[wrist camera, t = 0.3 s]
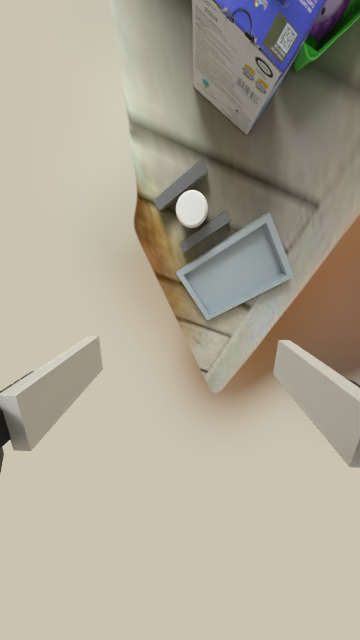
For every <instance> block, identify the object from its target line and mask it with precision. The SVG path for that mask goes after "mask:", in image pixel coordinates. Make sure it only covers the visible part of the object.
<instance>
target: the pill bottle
mask: <svg viewBox="0 0 360 640" xmlns="http://www.w3.org/2000/svg"><path fill="white" fill-rule="evenodd" d="M207 213H208V204H207V200H206V198H205V197H204V195H203V194H202V193H200V192H199V191H196V190H189V191H186V192H184V193H183V194H182V195H181V196H180V197H179V199H178V201H177V204H176V215H177V218H178V220H179V221H180V223H181V224H182V225H184V226H186V227H188V228H194V227H197V226H199V225H201V224H202V223H203V222H204V220H205V219H206V216H207Z"/></svg>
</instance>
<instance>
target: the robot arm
mask: <svg viewBox="0 0 360 640" xmlns="http://www.w3.org/2000/svg"><path fill="white" fill-rule="evenodd" d="M102 369H103V368H102V360H101V351H100V343H99V336H88V337H86V338H85V339H84V340H82V341H80V342H79V343H77V344H75V345H74V346H72V347H71V348H69V349H68V350H66V351H65V352H63V353H62V354H60V355H58V356H57V357H55V358H54V359H52V360H51V361H49V362H48V363H46V364H45V365H43V366H41V367H40V368H38V369H37V370H35V371H32V372H30V373H29V374H27V375H25V376H24V377H22V378H21V379H20V380H18V381H16V382H15V383H14V384H11V385H10V386H8V387H7V388H5V389H4V390H2V391H0V472H1V466H2V461H3V455H4V453H3V449H2V446H3V445H4V444H5V443H7V441H9V440H11V443H12V446H13V449H14V450H21V451H31V450H32V449H33V448H34V447H35V445H37V443H38V442H39V441H40V440H41V439H42V438H43V437H44V435H45V434H46V433H47V432H48V431H49V430H50V429H51V427H52V426H53V425H54V424H55V423H56V422H57V421H58V419H59V418H60V417H61V416H62V415H63V414H64V413H65V411H66V410H67V409H68V408H69V407H70V406H71V405H72V404H73V402H74V401H75V400H76V399H77V398H78V397H79V396H80V394H81V393H82V392H83V391H84V390H85V389H86V388H87V386H88V385H89V384H90V383H91V382H92V380H94V378H95V377H96V376H97V375H98V374H99V373H100V372H101V370H102ZM273 375H274V376H275V377H276V378H277V380H278V381H279V382H280V383H281V384H282V386H283V387H284V388H285V389H286V390H287V392H288V393H289V394H290V395H291V397H292V398H293V399H294V400H295V401H296V403H297V404H298V405H299V406H300V407H301V408H302V410H303V411H304V412H305V413H306V415H307V416H308V417H309V418H310V419H311V421H312V422H313V423H314V424H315V426H316V427H317V428H318V429H319V430H320V432H321V433H322V434H323V435H324V436H325V438H326V439H327V440H328V441H329V442H330V444H331V445H332V446H333V447H334V449H335V450H336V451H337V452H338V453H339V455H340V456H341V457H342V458H343V460H344V461H345V462H346V463H347V464H348V466H349V467H360V385H358V384H357V383H355V382H354V381H351V380H349V379H347V378H345V377H343V376H341V375H340V374H338V373H337V372H336V371H334V370H333V369H331V368H330V367H328V366H327V365H325V364H324V363H322V362H321V361H319V360H318V359H316V358H315V357H313V356H312V355H310V354H309V353H308V352H306V351H305V350H303V349H301V348H300V347H299V346H297V345H296V344H294V343H293V342H291V341H290V340H279V341H278V346H277V353H276V360H275V366H274V372H273Z"/></svg>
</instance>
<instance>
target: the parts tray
mask: <svg viewBox="0 0 360 640" xmlns="http://www.w3.org/2000/svg"><path fill="white" fill-rule="evenodd" d="M176 274H177V276H178V277H179V279H180V280H181V282H182V283H183V285H184V286H185V288H186V289H187V291H188V292H189V294H190V295H191V297H192V298H193V300H194V301H195V303H196V304H197V306H198V307H199V309H200V311H201V312H202V314H203V315H204V317H205V318H206V320H207V321H208V320H210V319H212V318H214V317H216V316H218V315H220V314H222V313H224V312H226V311H227V310H229V309H231V308H233V307H235V306H237V305H239V304H241V303H243V302H245V301H247V300H249V299H251V298H253V297H255V296H257V295H259V294H261V293H263V292H265V291H267V290H269V289H271V288H273V287H275V286H277V285H279V284H281V283H283V282H285V281H287V280H289V279H291V278H293V277H295V276H294V274H293V271H292V269H291V266H290V263H289V261H288V258H287V255H286V253H285V250H284V248H283V245H282V242H281V240H280V237H279V234H278V232H277V229H276V227H275V224H274V221H273V219H272V216H271V213H265V214H263V215H261V216H260V217H258V218H257V219H255V220H254V221H252V222H251V223H249V224H248V225H246V226H245V227H243V228H242V229H240V230H239V231H237V232H235V233H234V234H232V235H231V236H229V237H228V238H226V239H225V240H223V241H222V242H220V243H219V244H217V245H216V246H214V247H213V248H211V249H209V250H208V251H206V252H205V253H203V254H202V255H200V256H199V257H197V258H196V259H194V260H193V261H191V262H190V263H188V264H187V265H185V266H183V267H182V268H180V269H179V270H177V273H176Z"/></svg>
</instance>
